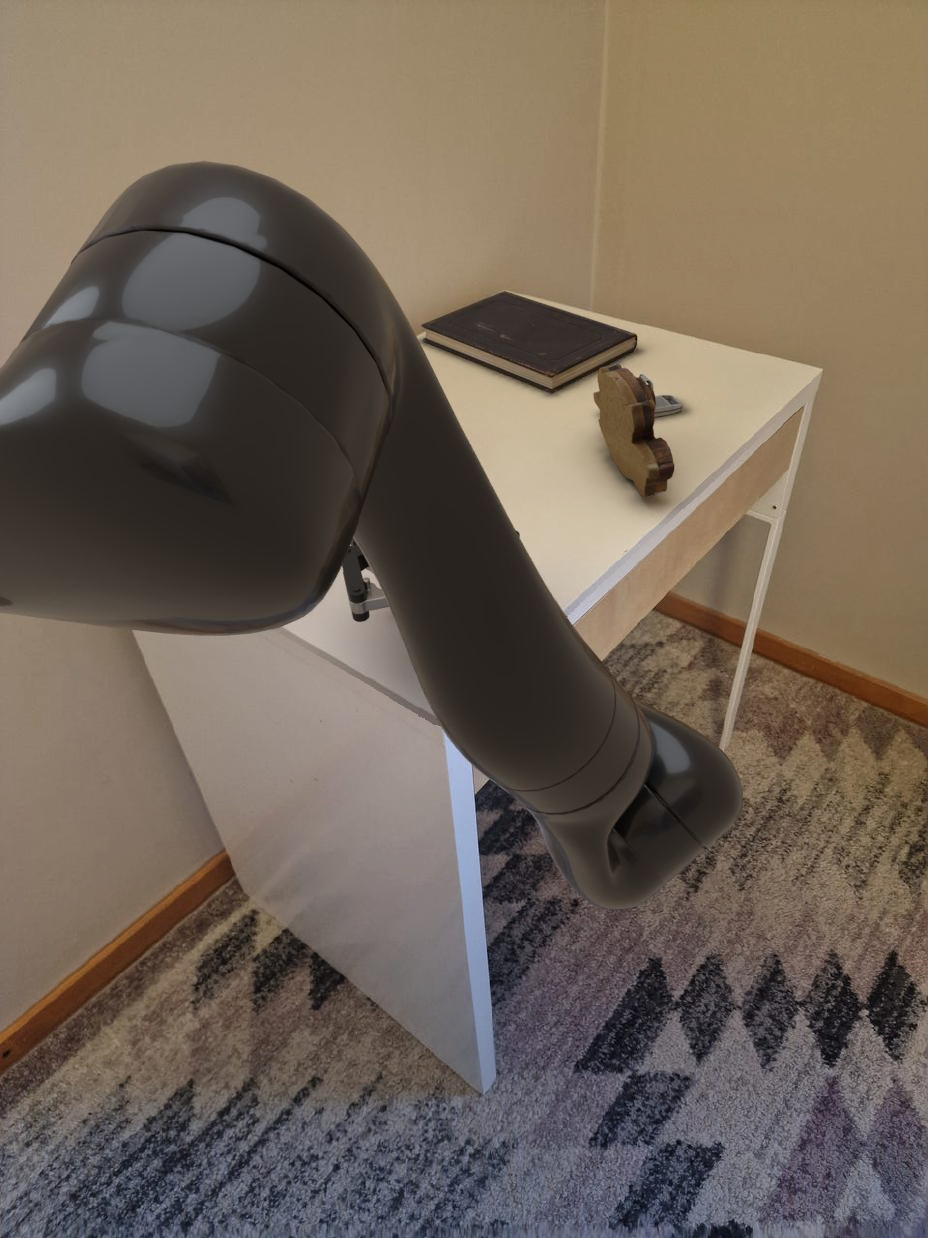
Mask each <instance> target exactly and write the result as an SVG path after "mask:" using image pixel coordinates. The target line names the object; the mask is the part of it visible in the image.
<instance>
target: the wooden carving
mask: <svg viewBox="0 0 928 1238" xmlns="http://www.w3.org/2000/svg"><path fill="white" fill-rule="evenodd" d="M597 371H598V372H597V385H598V390H599V391H595V392H593V400H594V403H595V405H596V407H597V408H598V410H599V418H598V425H599V428H600V432H601V434H602V436H603V439H604V441H605V444H606V446H607V449H608V451H609V454H610V456H611V458H612V460H613V462H614V464H615V466H616V467H617V469H618V470H619V472H620V473H621V474H622V475H623V476H624V477H625V478H626V479H628V480H632V482H633V483H634V485H635V487H636V489H637V491H638V493H639V494H640V496H641V497H642V498H650V497H653V496H656V495H657V494H659V493H665V492H666V491H668V481H669V480H670V479H672V478H673V476H674V473H675V468H676V467H675V463H674V458H673V453H672V450H671V447H670V446H669V444H668V442H667V441H666V440H665V439H664V438H662V437H657V438H656V437H655V431H654V425H655V421H656V420H655V418H656V417H655V415H654V411H655V408H656V406H655V405H656V400H655V396H656V395H655V391H654V388H653V389H652V387H651V386H650V385H649V384H648V383H647V382H645V381H644V380H643V379H641V378H640V377H639V376H638V377H636V376H635V375H634V374H633V372H631V371H630V370H629V369H628V368H626V367H622V365H621V364H619V363H617V364H614V365H612V366H611V365H610V366H609V367H608V366H604V367H602V368H600V369H598V370H597Z"/></svg>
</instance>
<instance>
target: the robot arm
mask: <svg viewBox="0 0 928 1238" xmlns="http://www.w3.org/2000/svg"><path fill="white" fill-rule="evenodd" d="M520 536H521V534H520V531H518V530H517V529H516V528H515V526H514V524H513V523H512V521H511V519H510V517H509V515H508V513H507V511H506V508H504V506H503V504H502V501H501V500H500V497H499V496H498V494H497V491H496V490H495V489H494V487H493V485H492V483H491V481H490V479H489V477H488V475H487V473H486V471H485V469H484V467H483V466H482V464H481V461H480V459H479V458H478V456H477V454H476V452H475V450H474V448H473V446H472V444H471V443H470V440H469V439H468V437H467V435H466V433H465V432H464V430H463V427H462V425H461V423H460V421H459V419H458V417H457V415H456V413H455V411H454V409H453V407H452V405H451V403H450V401H449V399H448V397H447V394H446V393H445V391H444V389H443V387H442V385H441V383H440V381H439V379H438V377H437V375H436V372H435V370H434V369H433V366H432V365H431V363H430V360H429V358H428V356H427V354H426V352H425V350H424V348H423V346H422V344H421V342H420V341H419V339H418V336H417V335H416V332H415V331H414V328H413V327H412V325H411V322H410V321H409V320H408V318H407V316H406V314H405V312H404V310H403V309H402V306H401V305H400V303H399V301H398V300H397V298H396V296H395V295H394V293H393V291H392V289H391V288H390V286H389V284H388V283H387V281H386V280H385V278H384V277H383V275H382V274H381V272H380V271H379V270H378V268H377V267H376V265H375V264H374V263H373V261H372V260H371V258H370V257H369V255H368V254H367V252H365V250H364V249H363V248H362V247H361V246H360V245H359V243H358V242H357V241H356V240H355V239H354V237H353V236H352V235H351V234H350V233H349V231H348V230H346V228H345V227H344V226H343V225H341V223H339V222H338V221H337V220H336V219H335V218H333V217H332V216H331V215H330V214H329V213H327V212H326V211H325V210H324V209H323V208H321V206H319V205H318V204H317V203H316V202H314V201H313V200H312V199H310V198H309V197H307V196H306V195H304V194H302V193H301V192H299V191H297V190H295V189H294V188H292V187H290V186H288V184H285V183H284V182H282V181H281V180H279V179H277V178H275V177H271V176H269V175H266V174H263V173H261V172H257V171H255V170H252V169H249V168H246V167H244V166H240V165H236V164H228V163H222V162H214V161H207V160H202V161H201V160H199V161H192V162H182V163H174V164H173V163H172V164H170V165H167V166H164V167H162V168H159V169H156V170H154V171H151V172H149V173H146V174H144V175H142V176H140V177H139V178H138V179H136V180H135V181H134V182H132V183H131V184H130V185H128V186H127V187H126V188H125V189H124V190H123V191H122V192H121V193H120V194H119V195H118V196H117V197H116V199H115V200H114V202H112V204H111V205H109V207H108V208H107V210H106V211H105V213H104V214H103V215H102V217H101V219H100V220H99V221H98V223H97V224H96V225H95V227H94V228H93V230H92V231H91V232H90V234H89V235H88V237H87V239H86V240H85V241H84V243H83V244H82V246H80V248H79V250H78V251H77V253H76V254H75V256H73V259H72V260H71V262H70V265H69V267H68V269H66V272H65V273H64V275H63V276H62V277H61V279H60V281H59V282H58V283H57V285H56V287H54V290H53V291H52V293H51V294H50V296H49V298H48V299H47V300H46V302H45V304H44V305H43V306H42V308H41V309H40V311H39V312H38V314H37V316H36V317H35V319H34V320H33V322H32V323H31V325H30V326H29V328H28V330H26V333H25V334H24V336H22V339H21V340H20V342H19V343H18V344H17V346H16V347H15V348H14V349H13V350H12V351H11V353H10V355H9V356H8V358H7V359H6V361H5V362H4V363H3V364H2V365H1V367H0V614H6V615H7V614H8V615H14V616H21V617H29V618H30V617H31V618H37V619H43V620H51V621H60V622H68V623H74V624H80V625H90V626H97V627H104V628H112V629H121V630H129V631H139V632H149V633H158V634H166V635H181V636H195V637H197V636H198V637H200V636H202V637H204V636H205V637H207V636H208V637H209V636H210V637H213V636H214V637H216V636H217V637H221V636H222V637H224V636H225V637H226V636H240V635H250V634H256V633H262V632H266V631H271V630H275V629H279V628H282V627H285V626H286V625H287V626H288V625H289V624H291V623H294V622H296V621H298V620H300V619H302V618H304V617H306V616H307V615H308V614H310V613H311V612H312V611H314V610H315V608H316V607H317V606H319V604H321V602H322V601H323V600H324V599H325V597H326V595H327V594H328V593H329V591H330V589H331V588H332V586H333V585H334V582H335V581H336V579H337V577H338V576H339V573H340V572H341V570H342V575H343V580H344V584H345V589H346V594H347V598H348V602H349V608H350V613H351V617H352V619H353V621H355V622H357V623H363V622H366V621H368V620H369V619H370V616H371V615H370V611H376V610H380V609H387V608H389V610H390V612H391V614H392V617H393V619H394V622H395V624H396V626H397V629H398V631H399V634H400V637H401V639H402V642H403V644H404V646H405V649H406V652H407V655H408V658H409V660H410V662H411V665H412V668H413V670H414V673H415V676H416V678H417V681H418V683H419V686H420V688H421V690H422V692H423V695H424V697H425V699H426V701H427V703H428V705H429V707H430V709H431V711H432V712H433V714H434V716H435V718H436V720H437V722H438V724H439V726H440V728H441V729H442V730H443V732H444V734H445V735H446V737H447V739H448V740H449V741H450V742H451V743H452V744H453V746H454V747H455V749H456V750H457V751H458V752H459V753H460V754H461V755H462V757H463V758H464V759H465V760H466V761H468V763H469V764H470V765H472V766H473V768H474V769H476V770H477V771H479V772H480V773H481V775H483V776H484V777H486V778H487V779H488V780H489V781H491V782H492V783H493V784H494V785H496V786H497V787H499V788H500V789H501V790H502V791H504V792H505V793H506V794H508V795H509V796H510V797H511V798H513V799H514V800H515V801H517V802H518V804H520V805H521V806H523V807H524V808H525V810H527V811H528V812H529V814H530V815H531V816H532V817H533V818H534V820H535V822H536V824H537V827H538V828H539V832H540V834H541V836H542V837H541V838H542V839H543V841H544V845H545V846H546V849H547V851H548V853H549V855H550V857H551V858H552V860H553V863H554V864H555V866H556V867H557V869H558V870H559V873H560V875H562V877H563V878H564V879H565V881H566V883H568V885H569V886H570V887H571V888H572V889H573V890H574V891H575V892H576V894H578V895H579V896H580V897H581V898H582V899H584V900H585V901H586V902H588V903H589V904H592V905H593V906H595V907H597V908H600V909H603V910H609V911H625V910H629V909H633V908H637V907H638V906H640V905H642V904H644V903H646V902H647V901H648V900H650V899H651V898H653V897H654V896H655V895H656V894H657V893H658V892H659V891H661V889H663V888H664V887H665V886H666V885H667V883H670V882H671V881H672V880H673V879H674V878H675V877H676V876H677V875H679V874H680V873H681V872H682V871H684V870H685V868H686V867H688V866H689V865H690V864H691V863H693V861H694V860H696V859H697V858H698V857H699V856H700V855H702V854H703V853H704V852H705V851H706V848H710V847H711V846H712V845H713V844H714V843H715V842H717V841H718V840H719V839H720V838H721V837H722V836H724V835H725V833H727V831H729V830H730V829H731V828H732V827H733V826H734V824H735V823H736V822H737V821H738V819H739V817H740V816H741V813H742V811H743V804H744V790H743V786H742V782H741V778H740V775H739V772H738V770H737V769H736V766H735V765H734V763H733V762H732V760H731V759H730V758H729V756H728V755H727V754H726V753H725V752H724V750H723V749H721V747H719V746H718V744H716V743H715V742H714V741H713V740H711V739H710V738H709V737H707V736H706V735H705V734H703V733H702V732H700V731H699V730H697V729H695V728H694V727H692V726H690V725H689V724H687V723H685V722H683V721H682V720H680V719H677V718H675V717H673V715H672V716H671V715H670V714H668V713H666V712H664V711H662V710H660V709H658V708H655V707H654V706H652V705H650V704H648V703H646V702H644V701H642V700H641V699H638V698H636V697H635V696H633V695H632V694H630V693H628V691H627V690H626V688H625V687H624V686H622V684H621V683H620V682H619V680H618V679H617V678H616V677H615V675H613V673H612V672H611V671H610V669H608V667H607V666H606V665H605V664H604V662H603V661H602V660H601V659H600V657H599V656H598V655H597V654H596V653H595V651H593V649H592V648H591V647H590V645H589V644H588V643H587V642H586V641H585V639H584V638H583V637H582V635H581V634H580V633H579V632H578V630H577V628H576V627H575V626H574V624H572V622H571V620H570V619H569V618H568V616H567V614H566V613H565V612H564V610H563V609H562V608H561V606H560V604H559V602H557V600H556V598H555V597H554V596H553V594H552V592H551V591H550V589H549V587H548V586H547V584H546V582H545V581H544V579H543V577H542V576H541V573H540V572H539V570H538V568H537V566H536V564H535V563H534V561H533V560H532V558H531V555H530V554H529V552H528V550H527V549H526V546H525V545H524V543H523V542H522V539H521V537H520ZM364 570H366V571H368V572H371V573H372V574H373V575H374V577H375V579H376V581H377V583H378V584H379V587H380V588H379V587H377V585H376V584H375V583H373V582H371V580H370V579H371V578H369V577H363V573H362V572H363V571H364Z"/></svg>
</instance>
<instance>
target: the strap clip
mask: <svg viewBox="0 0 928 1238" xmlns="http://www.w3.org/2000/svg"><path fill="white" fill-rule="evenodd" d="M638 377H640V378H641V379H643V380H644V381H645V383H646V384H647V385H648V384H649V385H650V386H651V387H652V389H653V390H654V383H653V382H652V380H651V379H649V378H648V377H647V376H646V374H643V373H641V374H639V376H638ZM655 400H656V405H655V406H656V408H655V411H654V415H655V418H657V417H663V416H668V415H674V414H676V413H679V412H680V411H681V410H682V409H683V403H681V401H679V400H678V399H677V398H676V397H675V396H674V395H672V394H660V395H655Z"/></svg>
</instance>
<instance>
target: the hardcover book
mask: <svg viewBox="0 0 928 1238" xmlns="http://www.w3.org/2000/svg"><path fill="white" fill-rule="evenodd" d="M421 328H423V329H424V330H425V337H424V338H422V342H424V343H427V344H429V345H431V346H434V347H436V348H439V349H441V350H444V351H446V352H448V353H451V354H454V355H456V356H457V357H458V356H459V357H460V358H463V359H466V360H468V361H470V362H473V363H475V364H479V365H480V366H483V367H485V368H487V369H490V370H492V371H495V372H498V373H500V374H503V375H505V376H508V377H510V378H512V379H515V380H517V381H520V382H522V383H525V384H526V385H527V384H528V385H530V386H532V387H535V388H537V389H539V390H542V391H545V392H547V393H548V394H553V393H554V392H556V391H559V390H560V389H562V388H564V387H566V386H569V385H570V384H572V383H574V382H576V381H577V380H580V379H582V378H584V377H586V376H587V375H590V374H592V373H594V372H595V371H599V369H600V368H602V367H607V365H609V364H611V363H613V362H615V361H617V360H619V359H621V358H624V357H625V356H627V355H629V354H631V353H633V352H634V351H635V350H636V349H637V347H638V335H637V334H636V333H634V332H631V331H629V330H626V329H622V328H619V327H616V326H614V325H610V324H608V323H604V322H602V321H598V320H595V319H592V318H589V317H586V316H582V315H580V314H577V313H573V312H571V311H567V310H564V309H562V308H558V307H556V306H552V305H549V304H546V303H543V302H540V301H537V300H534V299H532V298H528V297H526V296H522V295H520V294H519V295H518V294H515V293H514V292H513V293H512V292H510V291H506V290H503V291H500V292H498V293H496V294H493V295H491V296H489V297H486V298H483V299H480V300H478V301H476V302H473V303H471V304H469V305H466V306H464V307H461V308H459V309H457V310H454V311H451V312H449V313H447V314H443V315H442V316H439V317H437V318H434V319H432V320H429V321H427V322H424V323H421Z"/></svg>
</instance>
